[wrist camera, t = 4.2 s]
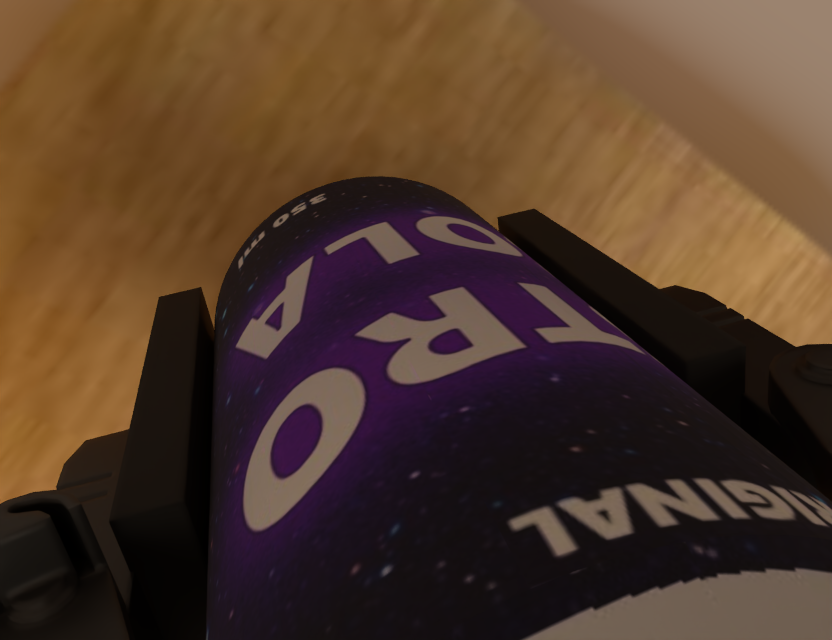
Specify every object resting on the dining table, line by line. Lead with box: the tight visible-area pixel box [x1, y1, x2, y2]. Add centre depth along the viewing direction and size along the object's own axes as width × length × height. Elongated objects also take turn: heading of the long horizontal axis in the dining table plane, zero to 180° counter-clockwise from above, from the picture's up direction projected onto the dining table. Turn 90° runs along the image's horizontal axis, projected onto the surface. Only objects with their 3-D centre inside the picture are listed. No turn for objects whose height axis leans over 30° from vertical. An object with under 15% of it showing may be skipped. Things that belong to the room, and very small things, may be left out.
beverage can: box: [206, 176, 832, 640], centre depth 9 cm, size 6×6×12 cm
